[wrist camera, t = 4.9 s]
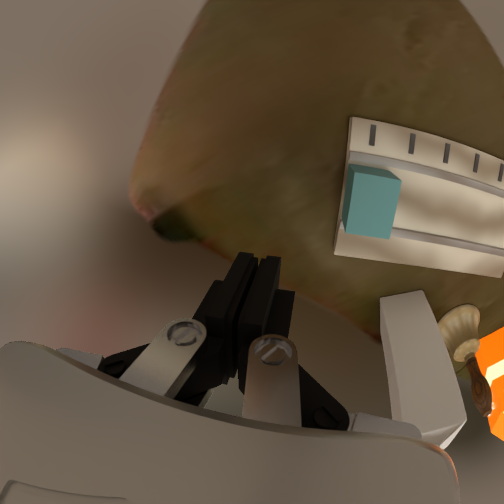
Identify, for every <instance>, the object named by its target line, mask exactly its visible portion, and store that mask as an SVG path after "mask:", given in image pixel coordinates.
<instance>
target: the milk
mask: <svg viewBox="0 0 504 504" xmlns="http://www.w3.org/2000/svg"><path fill="white" fill-rule="evenodd" d="M380 332H381V337H382V343H383V349H384V354H385V360H386V367H387V375H388V382H389V390H390V399H391V409H392V420H396V421H401V422H407V423H410V424H413V425H415V426H416V427H417V428H418V429H419V430H420V432H421V434H422V440H424V441H427V442H429V443H432V444H434V445H436V446H438V447H440V448H441V449H443V450H444V449H445V448H446V447H447V446H448V445H449V443H450V442H451V441H452V440H453V439H454V437H455V436H456V435H457V433H458V431H459V430H460V429H461V427H462V426H463V425H464V423H465V422H466V420H467V417H466V412H465V408H464V404H463V400H462V396H461V393H460V389H459V385H458V382H457V379H456V375H455V372H454V369H453V366H452V363H451V360H450V357H449V354H448V351H447V348H446V345H445V343H444V340H443V337H442V335H441V332H440V330H439V327H438V324H437V322H436V320H435V317H434V315H433V312H432V310H431V308H430V305H429V303H428V301H427V299H426V296H425V294H424V292H423V290H418V291H413V292H408V293H403V294H398V295H392V296H387V297H381V298H380Z"/></svg>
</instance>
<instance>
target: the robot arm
mask: <svg viewBox="0 0 504 504" xmlns="http://www.w3.org/2000/svg"><path fill="white" fill-rule="evenodd" d="M280 265H281V257H276V256H267V258H266V259H263V258H262V259H261V261H260V264H259V266H258V258H256V257H254V255H253V253H245V252H239V253H238V255H237V257H236V259H235V261H234V263H233V264H232V266H231V268H230V270H229V272H228V274H227V276H226V277H225V279H224V281H220V280H215V281H214V282H213V284H212V285H211V287H210V289H209V291H208V292H207V294H206V296H205V298H204V299H203V301H202V302H201V304H200V306H199V308H198V309H197V311H196V313H195V314H194V316H193V318H192V319H189V318H186V319H185V318H183V319H178V320H175V321H173V322H171V323H169V324H168V325H167V326H166V327H165V328H164V329H163V330H162V331H161V332H160V334H159V335H158V336H157V337H156V338H155V339H154V340H153V341H152V342H151V343H149V344H146V345H143V346H139V347H136V348H133V349H130V350H127V351H123V352H120V353H117V354H113V355H111V356H109V357H106V358H104V357H103V355H98V354H93V353H87V352H82V351H77V350H72V349H68V348H60V349H56V350H54V349H52V348H50V347H47V346H44V345H41V344H37V343H33V342H26V341H14V342H9V343H7V344H5V345H4V346H2V347H1V348H0V504H460V493H459V484H458V480H457V474H456V470H455V467H454V464H453V462H452V460H451V458H450V456H449V455H448V454H447V453H446V452H445V451H444V450H443V449H441V448H440V447H438V446H436V445H434V444H432V443H429V442H427V441H424V440H422V434H421V432H420V430H419V429H418V428H417V427H416V426H415V425H413V424H410V423H407V422H401V421H396V420H391V419H386V418H381V417H377V416H372V415H368V414H364V413H360V412H358V413H357V414H352V413H348V412H347V411H346V409H345V408H344V407H343V406H342V405H341V404H340V403H339V402H338V401H337V400H336V399H335V398H333V397H332V396H331V395H330V394H329V393H328V392H327V391H326V390H325V389H324V388H323V387H322V386H321V385H320V384H319V383H317V381H316V380H315V379H313V378H312V377H311V376H310V375H309V374H308V373H307V372H306V371H305V370H304V369H303V368H302V367H301V366H300V365H299V364H298V356H297V349H296V346H295V345H294V343H293V342H292V341H291V340H289V339H288V334H289V328H290V321H291V315H292V309H293V302H294V295H295V291H287V290H280V289H278V286H279V276H280ZM237 369H238V379H239V389H240V391H241V392H242V393H243V394H244V404H243V413H242V417H237V416H232V415H228V414H224V413H220V412H216V411H212V410H208V409H204V407H205V405H206V403H207V402H208V400H209V398H210V397H211V395H212V393H213V388H214V387H217V386H219V385H221V384H226V385H227V383H228V380H229V377H231V378H234V377H235V375H236V372H237Z"/></svg>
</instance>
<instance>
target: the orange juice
mask: <svg viewBox="0 0 504 504" xmlns="http://www.w3.org/2000/svg"><path fill="white" fill-rule="evenodd" d="M479 341H480V348H479V350H478V352H477V353H476V354H475V356H476V358H477V362H478V365H479V368H480V371H481V373H482V374H483V376H484V377H485V378H486V379H487V381H488V383H489V385H490V388H491V391H492V413H491V414H489V415H488V419H489V424H490V428H491V433H493V434H494V435H496V436H497V437H499V438H500V439H502V440H503V441H504V327H503V328H501V329H499V330H498V331H496V332H494V333H492V334H490V335H488V336H486V337H484V338H482V339H480V340H479Z"/></svg>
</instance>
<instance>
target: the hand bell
mask: <svg viewBox="0 0 504 504" xmlns="http://www.w3.org/2000/svg"><path fill="white" fill-rule="evenodd" d="M479 320H480V313H479V310H478V309H477V308H476V307H475V306H473V305H470V304H465V305H460V306H458V307H455V308H453V309H452V310H450V311H448V312H447V313H446V314H445V315H444V316H443V317H442V318H441V319H440V320H439V322H438V323H437V324H438V327H439V330H440V332H441V335H442V337H443V340H444V343H445V345H446V347H447V348H448V349H449V350H450V352H451V353H452V355H453V357H454V359H455V360H456V361H459V362H462V361H465V363H466V366H467V368H468V371H469V373H470V376H471V381H472V385H471V386H472V396H473V400H474V403H475V405H476V407H477V408H478V409H479V411H480V412H481V414H482V415H483V417H486V416H488V415H489V414H491V413H492V391H491V388H490V385H489V383H488V381H487V379H486V378H485V377H484V376H483V374H482V373H481V371H480V368H479V365H478V362H477V358H476V356H475V354H476V353H477V352H478V350H479V348H480V341H479V337H478V333H477V327H478V324H479Z"/></svg>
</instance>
